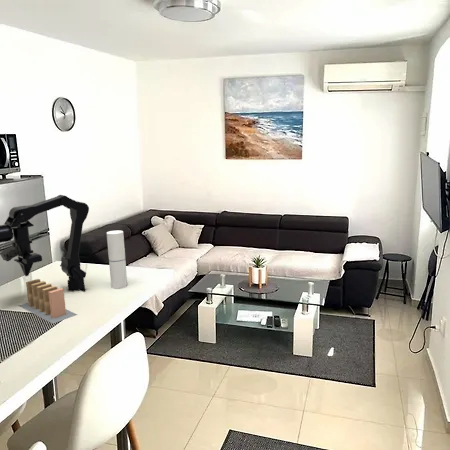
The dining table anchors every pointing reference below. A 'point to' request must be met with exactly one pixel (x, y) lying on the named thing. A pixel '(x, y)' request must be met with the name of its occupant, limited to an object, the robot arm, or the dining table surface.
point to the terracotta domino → (57, 303)
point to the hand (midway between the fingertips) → (26, 275)
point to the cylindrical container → (117, 259)
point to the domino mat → (47, 317)
